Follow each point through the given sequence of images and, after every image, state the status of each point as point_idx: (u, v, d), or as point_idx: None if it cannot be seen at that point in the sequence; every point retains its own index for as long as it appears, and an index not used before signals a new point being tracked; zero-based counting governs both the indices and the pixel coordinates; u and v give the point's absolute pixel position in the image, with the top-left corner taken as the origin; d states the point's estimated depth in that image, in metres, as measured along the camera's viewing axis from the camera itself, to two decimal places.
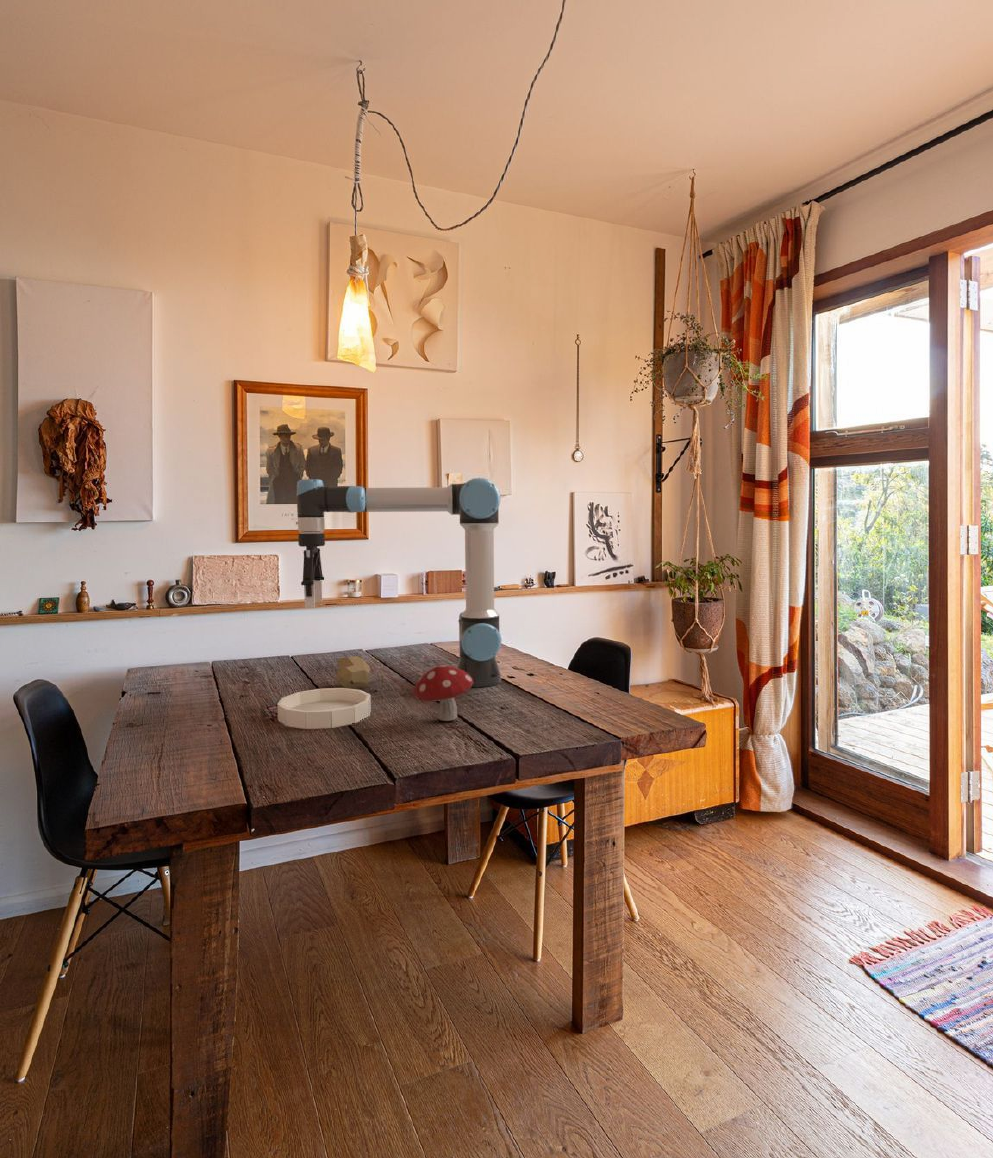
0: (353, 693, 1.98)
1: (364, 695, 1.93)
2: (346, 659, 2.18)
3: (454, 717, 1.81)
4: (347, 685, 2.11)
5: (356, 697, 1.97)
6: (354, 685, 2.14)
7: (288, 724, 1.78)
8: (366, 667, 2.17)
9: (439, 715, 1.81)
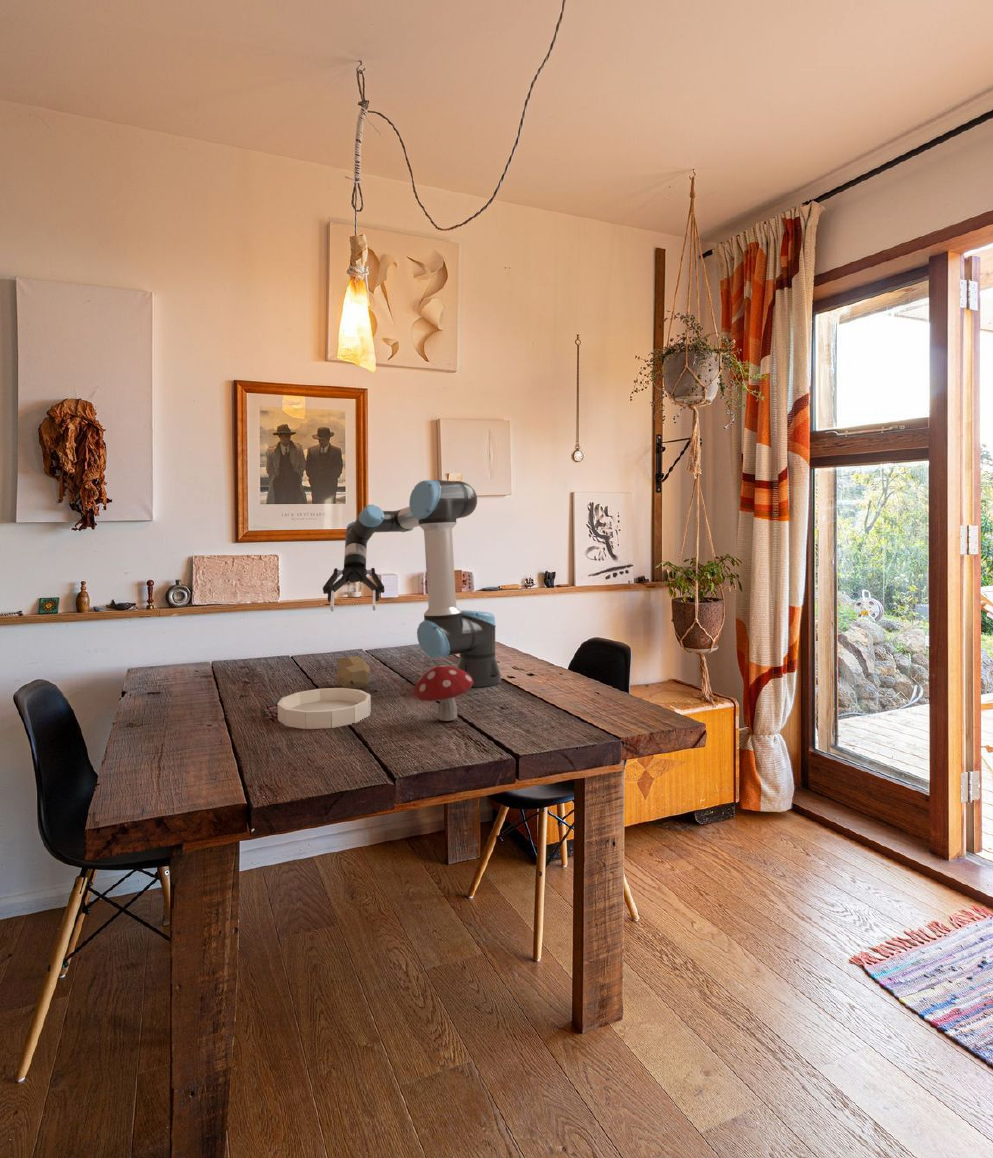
0: (353, 693, 1.98)
1: (364, 695, 1.93)
2: (346, 659, 2.18)
3: (454, 717, 1.81)
4: (347, 685, 2.11)
5: (356, 697, 1.97)
6: (354, 685, 2.14)
7: (288, 724, 1.78)
8: (366, 667, 2.17)
9: (439, 715, 1.81)
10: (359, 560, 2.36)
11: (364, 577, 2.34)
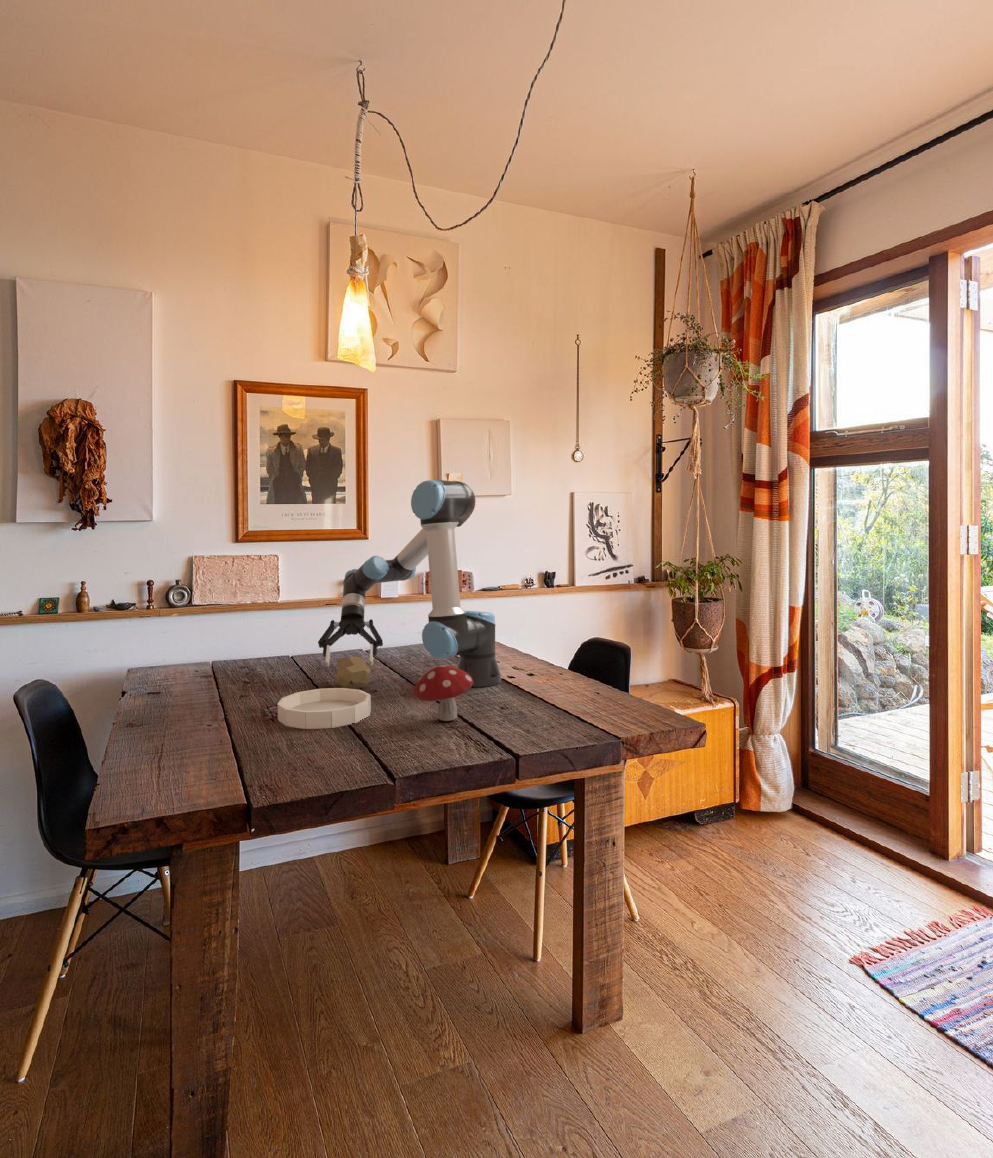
0: (353, 693, 1.98)
1: (364, 695, 1.93)
2: (347, 659, 2.18)
3: (454, 717, 1.81)
4: (347, 685, 2.11)
5: (356, 697, 1.97)
6: (354, 685, 2.14)
7: (288, 724, 1.78)
8: (367, 667, 2.17)
9: (439, 715, 1.81)
10: (356, 612, 2.27)
11: (361, 630, 2.25)
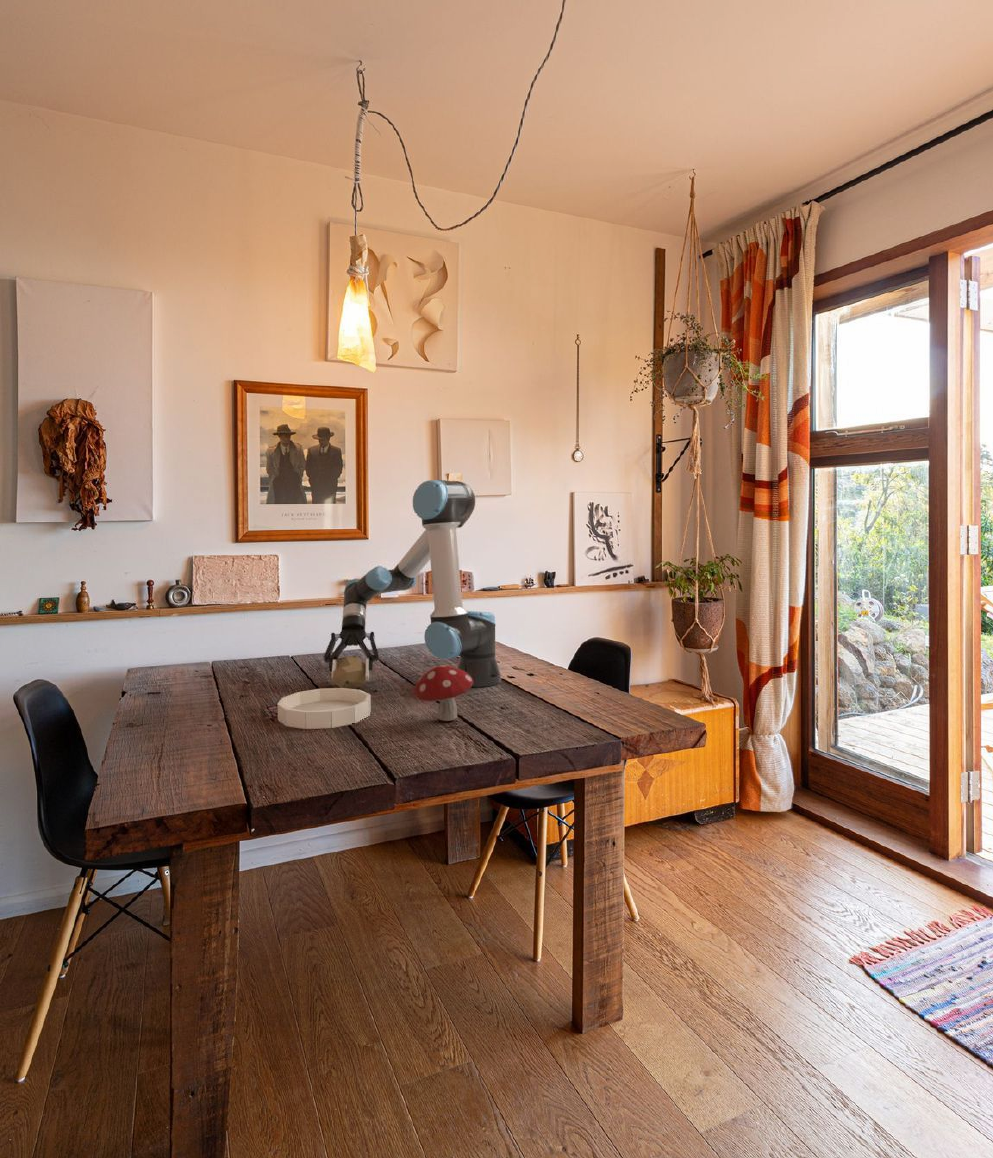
0: (353, 693, 1.98)
1: (364, 695, 1.93)
2: (344, 659, 2.18)
3: (454, 717, 1.81)
4: (343, 685, 2.11)
5: (356, 697, 1.97)
6: (351, 685, 2.13)
7: (288, 724, 1.78)
8: (364, 667, 2.17)
9: (439, 715, 1.81)
10: (357, 622, 2.23)
11: None
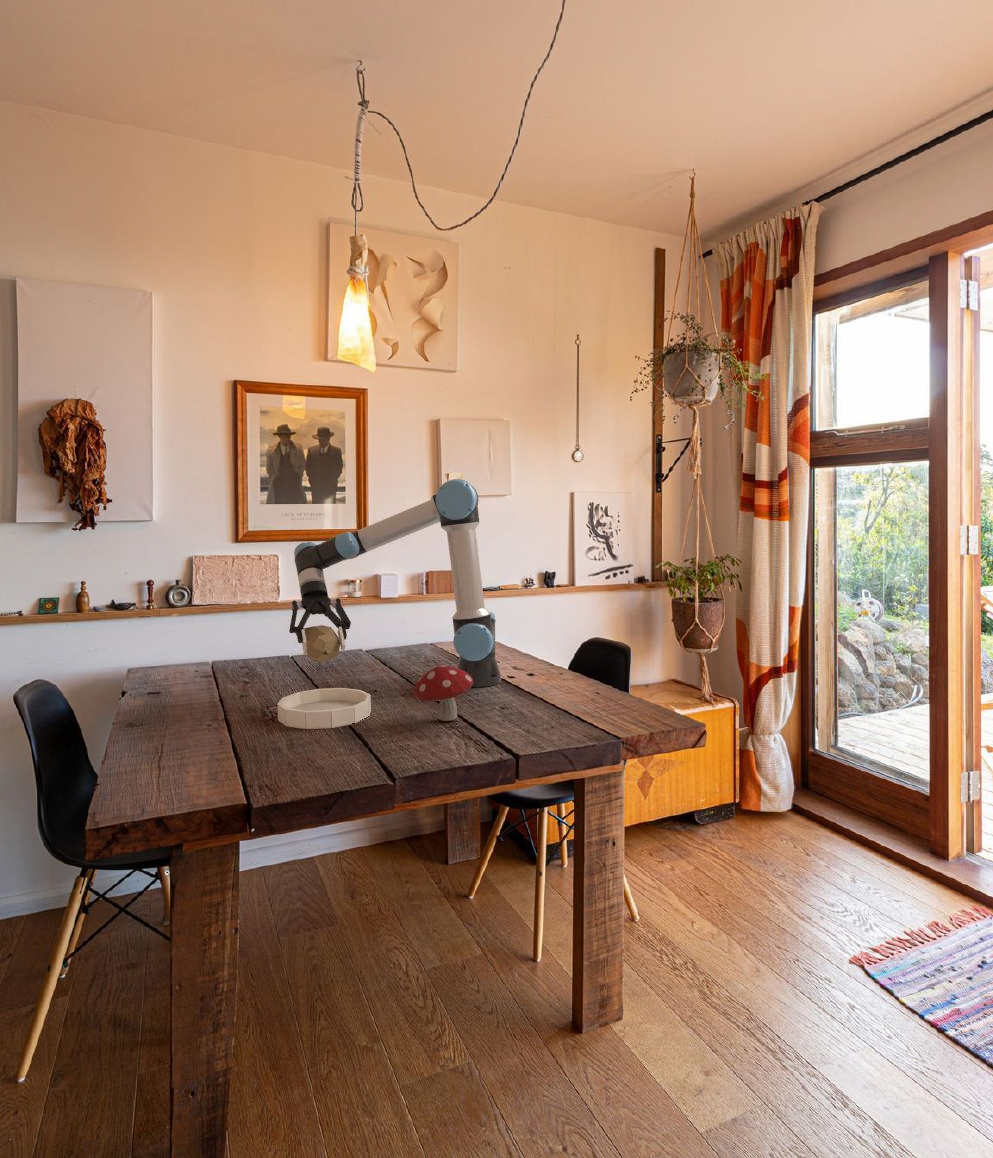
0: (353, 693, 1.98)
1: (364, 695, 1.93)
2: (312, 629, 1.94)
3: (454, 717, 1.81)
4: (319, 657, 1.89)
5: (356, 697, 1.97)
6: (325, 656, 1.91)
7: (288, 724, 1.78)
8: (336, 636, 1.96)
9: (439, 715, 1.81)
10: (321, 588, 2.00)
11: (330, 608, 1.99)
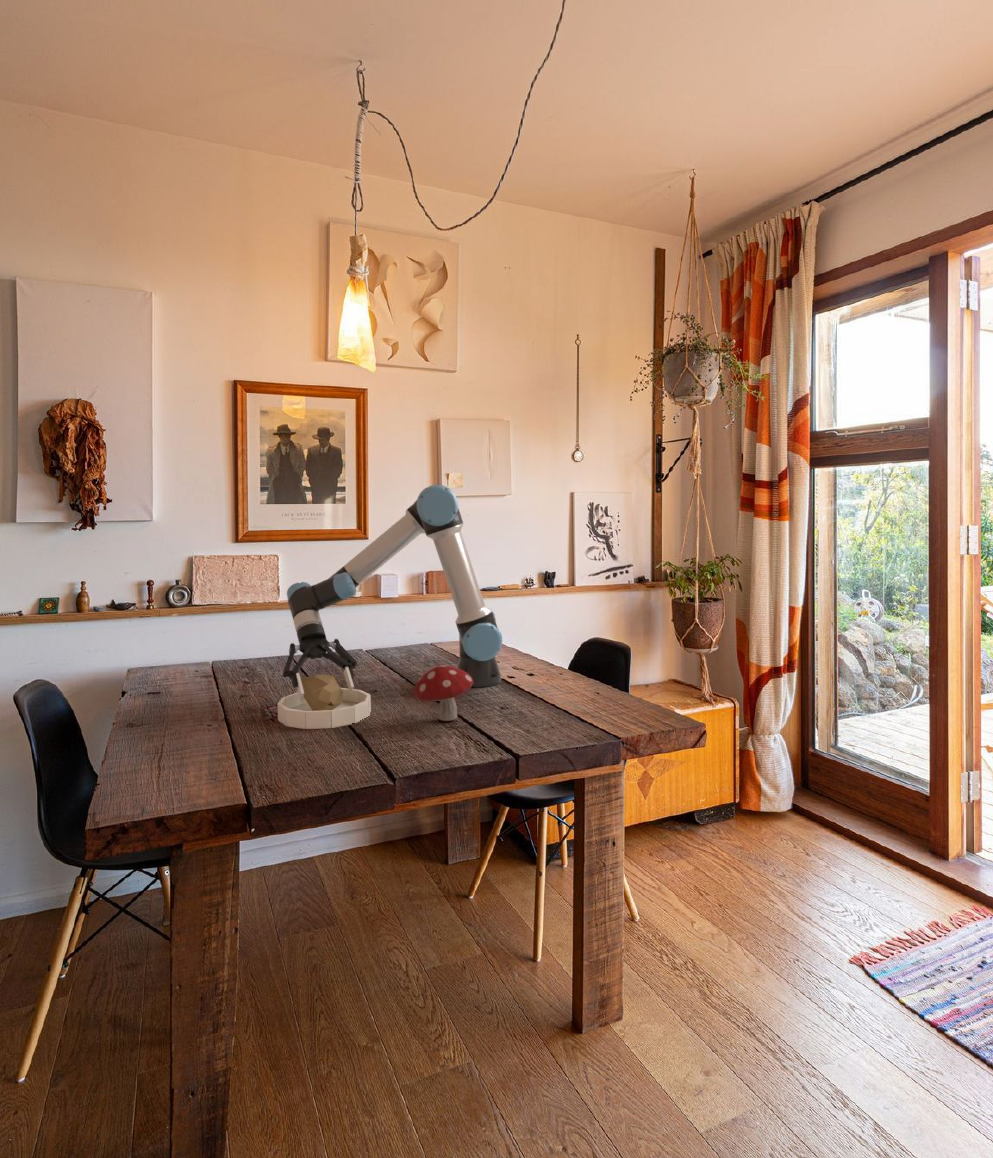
0: (353, 693, 1.98)
1: (364, 695, 1.93)
2: (313, 679, 1.88)
3: (454, 717, 1.81)
4: (324, 708, 1.83)
5: (356, 697, 1.97)
6: (329, 707, 1.86)
7: (288, 724, 1.78)
8: (338, 685, 1.90)
9: (439, 715, 1.81)
10: (320, 631, 1.94)
11: (330, 652, 1.93)
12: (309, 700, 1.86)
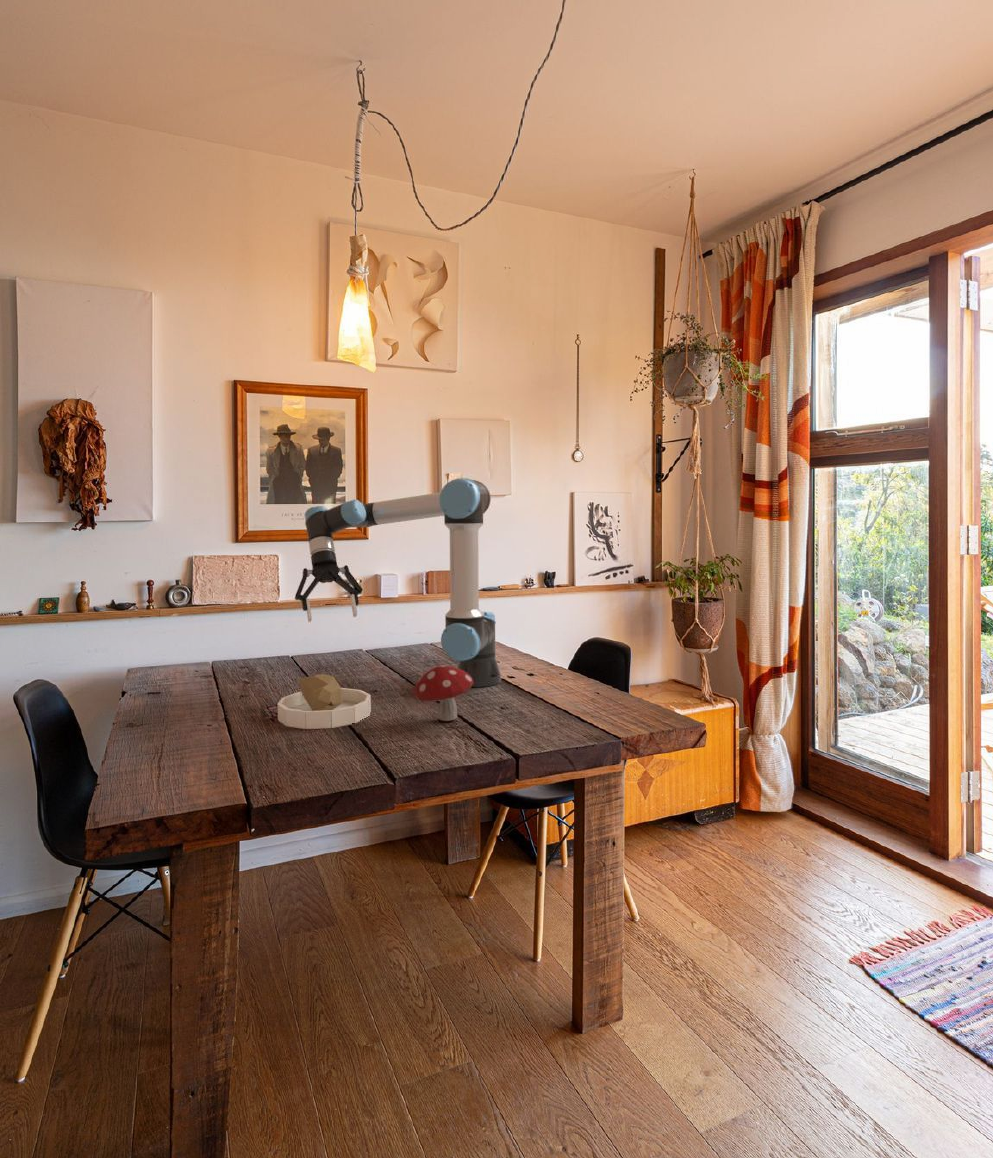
0: (353, 693, 1.98)
1: (364, 695, 1.93)
2: (313, 679, 1.88)
3: (454, 717, 1.81)
4: (324, 708, 1.83)
5: (356, 697, 1.97)
6: (329, 707, 1.86)
7: (288, 724, 1.78)
8: (338, 685, 1.90)
9: (439, 715, 1.81)
10: (331, 559, 2.12)
11: (339, 578, 2.13)
12: (309, 700, 1.86)
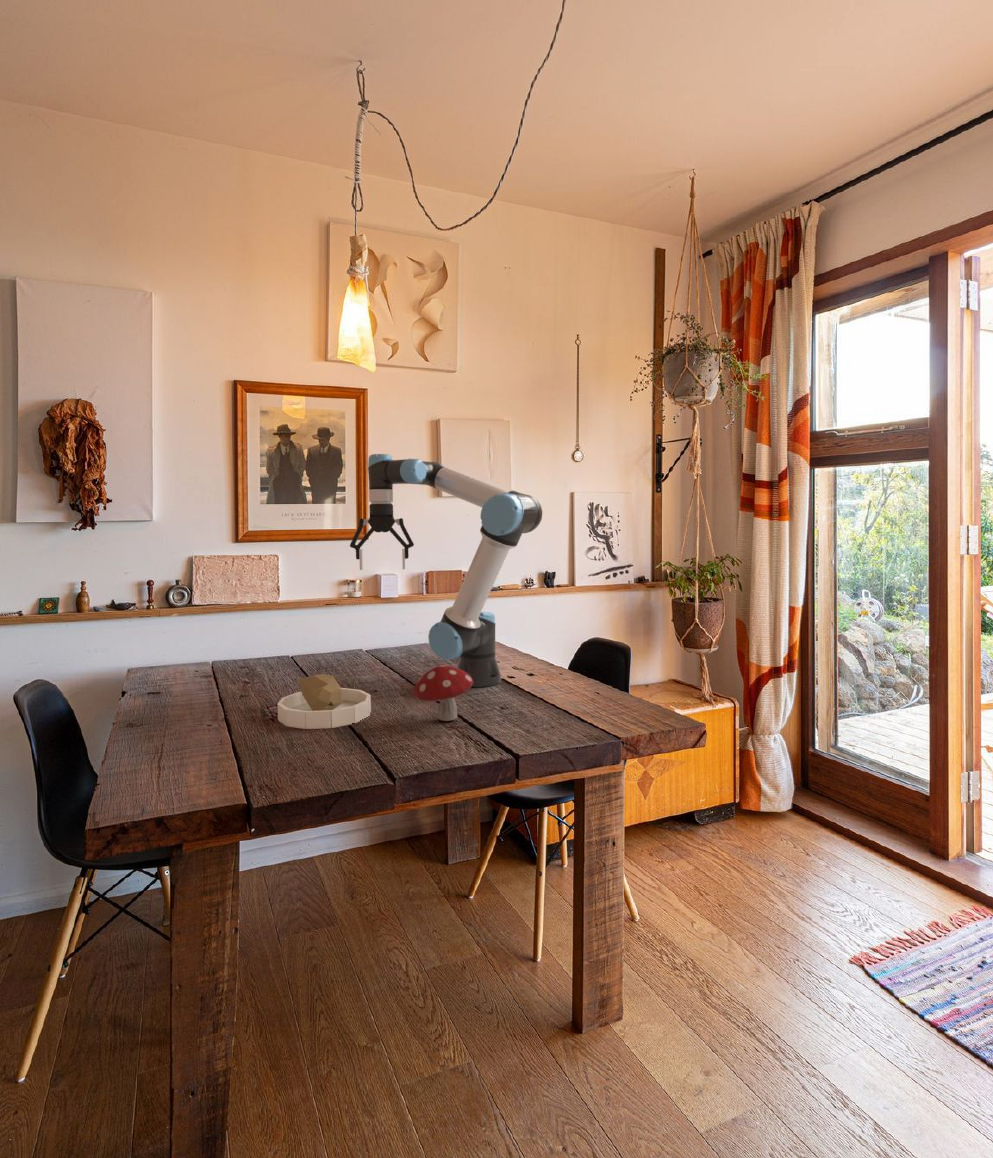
0: (353, 693, 1.98)
1: (364, 695, 1.93)
2: (313, 679, 1.88)
3: (454, 717, 1.81)
4: (324, 708, 1.83)
5: (356, 697, 1.97)
6: (329, 707, 1.86)
7: (288, 724, 1.78)
8: (338, 685, 1.90)
9: (439, 715, 1.81)
10: (386, 513, 2.18)
11: (392, 532, 2.21)
12: (309, 700, 1.86)
